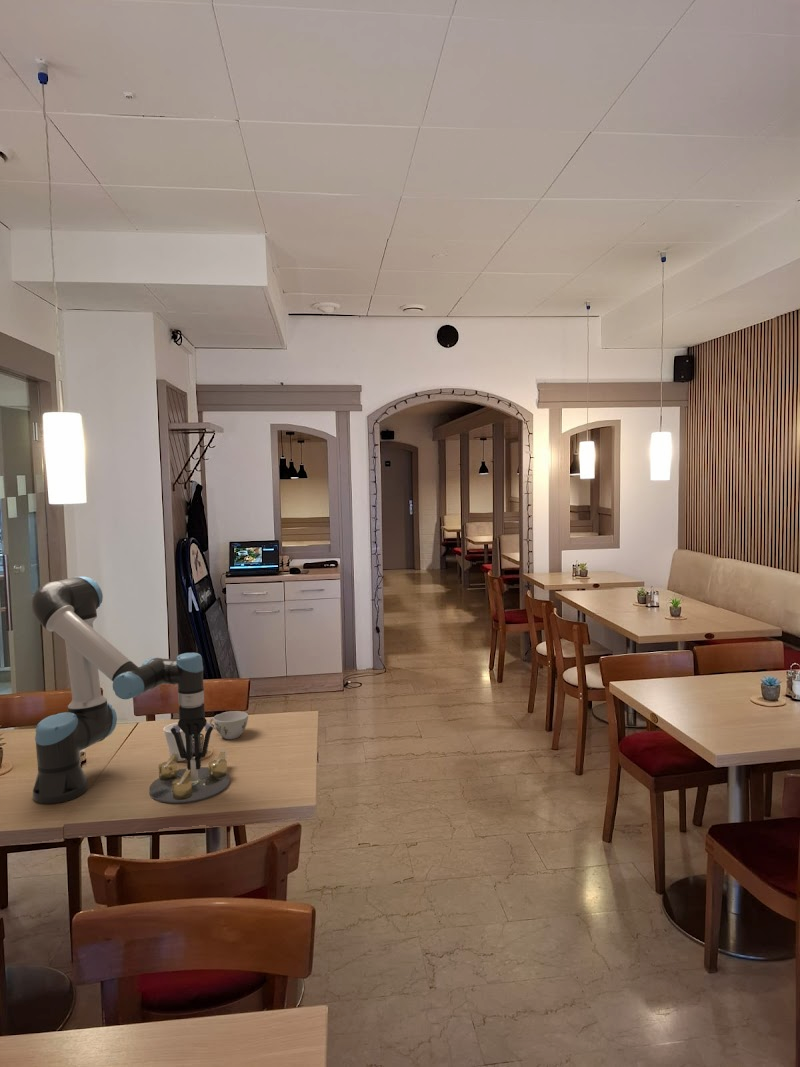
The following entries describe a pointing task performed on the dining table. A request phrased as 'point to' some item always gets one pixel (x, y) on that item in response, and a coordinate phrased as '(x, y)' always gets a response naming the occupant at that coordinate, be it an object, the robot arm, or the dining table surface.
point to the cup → (173, 740)
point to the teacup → (230, 723)
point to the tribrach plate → (200, 787)
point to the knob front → (182, 786)
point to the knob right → (218, 766)
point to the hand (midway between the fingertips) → (194, 779)
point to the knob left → (169, 768)
